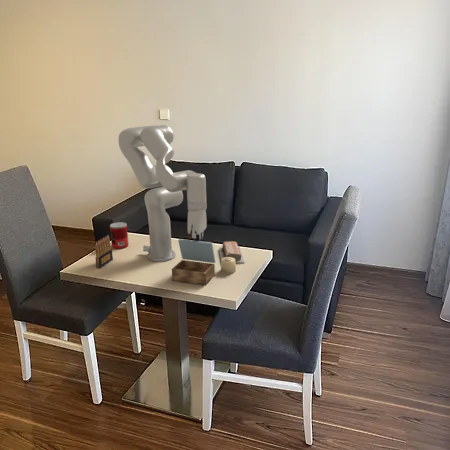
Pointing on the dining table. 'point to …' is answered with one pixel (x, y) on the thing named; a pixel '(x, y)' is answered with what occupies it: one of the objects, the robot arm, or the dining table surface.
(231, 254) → the packaged product
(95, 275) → the dining table surface
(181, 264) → the crate
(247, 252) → the dining table surface
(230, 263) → the cream bottle with knob
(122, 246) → the canned food
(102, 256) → the ammunition clip
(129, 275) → the dining table surface
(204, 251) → the lid
